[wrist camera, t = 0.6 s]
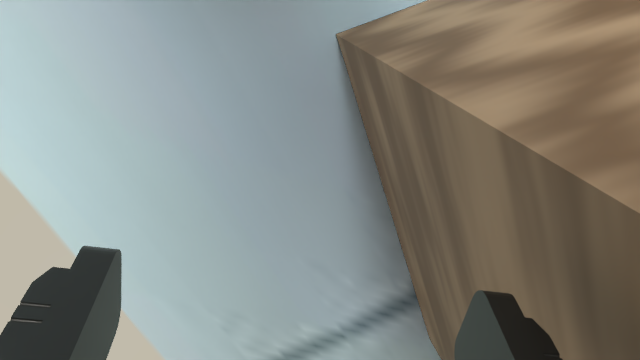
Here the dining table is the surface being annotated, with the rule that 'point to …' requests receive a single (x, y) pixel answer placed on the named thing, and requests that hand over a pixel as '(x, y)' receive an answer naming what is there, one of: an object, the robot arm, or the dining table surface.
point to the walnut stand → (511, 160)
